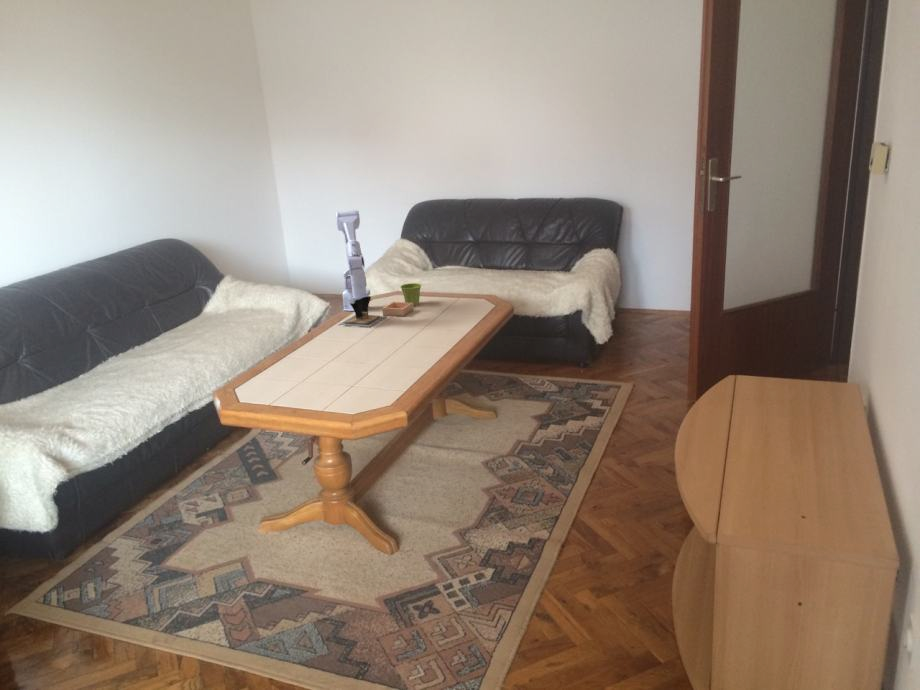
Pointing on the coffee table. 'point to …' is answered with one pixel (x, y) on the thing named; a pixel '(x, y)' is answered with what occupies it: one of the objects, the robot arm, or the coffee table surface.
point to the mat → (364, 325)
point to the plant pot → (411, 293)
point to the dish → (398, 309)
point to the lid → (362, 319)
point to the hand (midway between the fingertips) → (362, 315)
